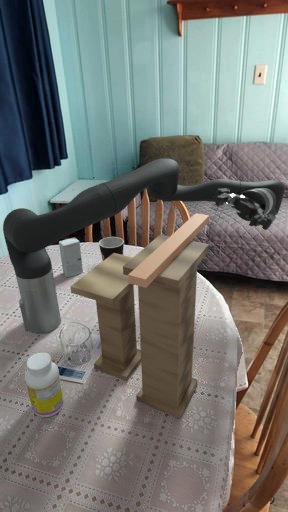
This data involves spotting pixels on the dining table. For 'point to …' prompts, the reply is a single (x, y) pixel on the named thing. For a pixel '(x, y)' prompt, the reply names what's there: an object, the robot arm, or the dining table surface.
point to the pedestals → (148, 323)
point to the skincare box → (71, 257)
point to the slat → (167, 251)
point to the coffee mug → (111, 246)
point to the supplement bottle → (44, 385)
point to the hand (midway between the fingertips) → (235, 211)
